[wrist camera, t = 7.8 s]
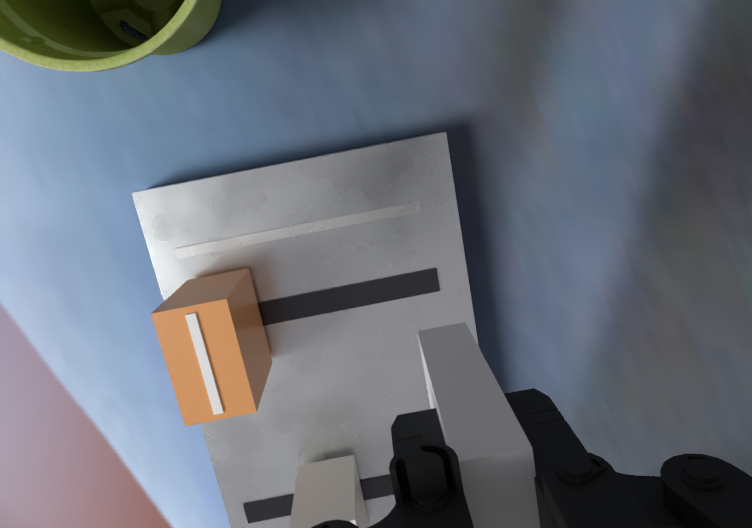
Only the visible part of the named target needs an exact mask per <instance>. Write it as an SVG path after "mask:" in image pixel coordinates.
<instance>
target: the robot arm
mask: <svg viewBox="0 0 752 528" xmlns="http://www.w3.org/2000/svg"><path fill="white" fill-rule="evenodd" d="M417 334H418V340H419V345H420V351H421V357H422V362H423V368H424V373H425V379H426V384H427V390H428V396H429V401H430V407H431V409H428V410H422V411H417V412H411V413H406V414H401V415H397V417H396V419H395V421H394V422H393V424H392V426H391V436H392V445H393V453H394V457H393V458H392V459H391V461H390V466H389V472H390V477H391V482H392V486H393V491H394V496H395V501H396V504H395V506H394V508H393V509H392V510H391V512H390V513H389V514H388V515H387V516H386V517H385V518H383V519H382V520H381V521H379V522H377V523H376V524H374V525H372V526H370V527H368V528H752V477H751V476H749V475H748V474H746V473H745V472H743V471H741V470H740V469H738V468H737V467H735V466H733V465H732V464H730V463H727V462H725V461H723V460H721V459H719V458H716V457H712V456H707V455H703V454H683V455H678V456H673V457H672V458H670V459H668V460H667V461H665V462H664V463H663V465H662V468H661V470H660V474H661V477H655V476H635V475H626V474H621V473H618V472H615V470H614V469H613V468H612V466H611V465H610V464H609V463H608V462H606V461H605V460H604V459H603V458H601V457H599V456H596V455H594V454H592V453H588V452H587V451H586V449H585V448H584V446H583V445H582V444H581V442H580V441H579V439H578V438H577V436H576V435H575V433H574V432H573V430H572V429H571V428H570V426H569V425H568V423H567V422H566V421H565V420H564V417H563V416H562V415H561V413H560V412H559V411H558V409H557V407H556V406H555V404H554V403H553V402H552V400H551V399H550V397H548V396H547V395H545V394H543V393H541V392H540V391H538V390H536V389H534V388H533V389H528V390H523V391H517V392H512V393H506V394H503V392H502V390H501V388H500V386H499V384H498V382H497V380H496V379H495V377H494V375H493V373H492V371H491V369H490V367H489V365H488V364H487V362H486V360H485V358H484V356H483V354H482V352H481V350H480V349H479V347H478V345H477V343H476V341H475V339H474V337H473V335H472V334H471V332H470V330H469V328H468V326H467V324H466V322H463V323H458V324H452V325H447V326H442V327H436V328H431V329H426V330H420V331H417ZM311 528H359V527H358V526H356V525H355V524H353V523H352V522H350V521H345V520H338V519H337V520H330V521H324V522H322V523H320V524H317V525H315V526H313V527H311Z"/></svg>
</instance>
